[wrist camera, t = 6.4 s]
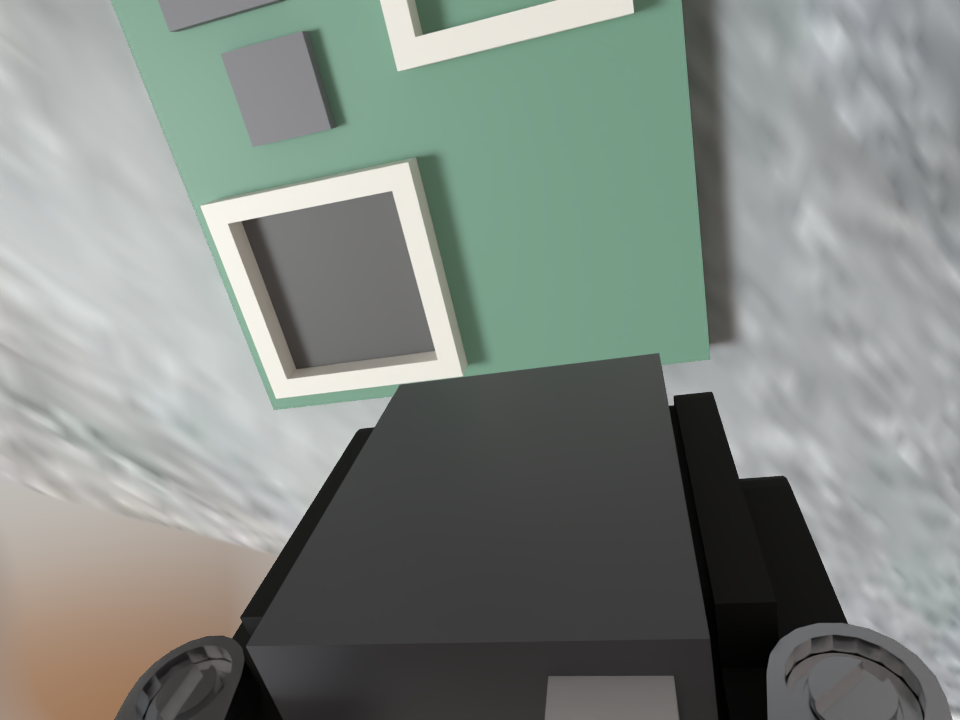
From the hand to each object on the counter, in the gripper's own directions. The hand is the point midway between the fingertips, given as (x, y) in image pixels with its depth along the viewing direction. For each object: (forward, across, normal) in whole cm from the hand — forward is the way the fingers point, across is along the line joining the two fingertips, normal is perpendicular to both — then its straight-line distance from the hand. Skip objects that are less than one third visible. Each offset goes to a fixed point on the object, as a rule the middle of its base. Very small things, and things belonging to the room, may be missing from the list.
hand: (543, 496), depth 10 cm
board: (+15, +5, -4) cm, 16 cm away
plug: (0, 0, 0) cm, 0 cm away
